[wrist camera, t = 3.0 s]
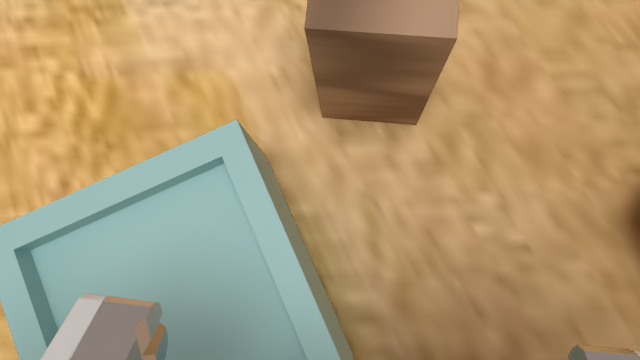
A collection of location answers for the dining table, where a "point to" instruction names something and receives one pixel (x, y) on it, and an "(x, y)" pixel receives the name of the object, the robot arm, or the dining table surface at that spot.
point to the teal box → (177, 257)
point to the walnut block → (379, 55)
